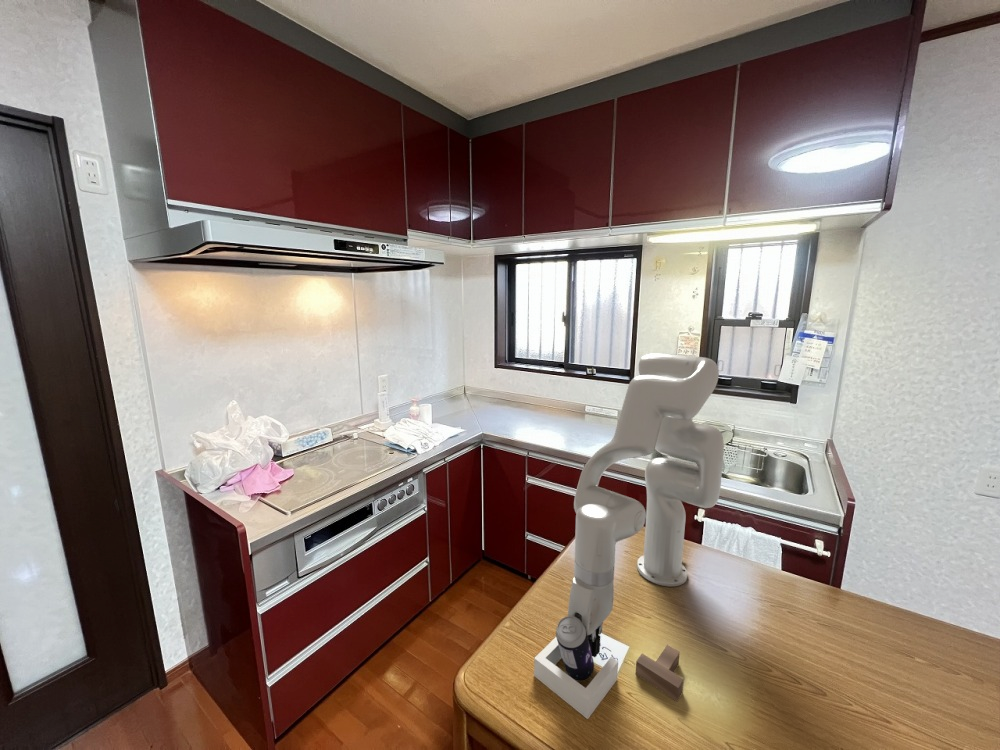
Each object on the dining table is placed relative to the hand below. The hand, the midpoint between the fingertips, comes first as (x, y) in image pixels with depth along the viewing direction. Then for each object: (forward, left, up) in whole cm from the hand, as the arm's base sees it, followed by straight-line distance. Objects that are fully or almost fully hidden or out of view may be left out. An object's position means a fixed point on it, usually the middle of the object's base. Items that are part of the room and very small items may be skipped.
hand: (590, 650), depth 81 cm
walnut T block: (-7, +12, -2) cm, 14 cm away
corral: (+6, 0, -2) cm, 6 cm away
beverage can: (+4, 0, -2) cm, 4 cm away
